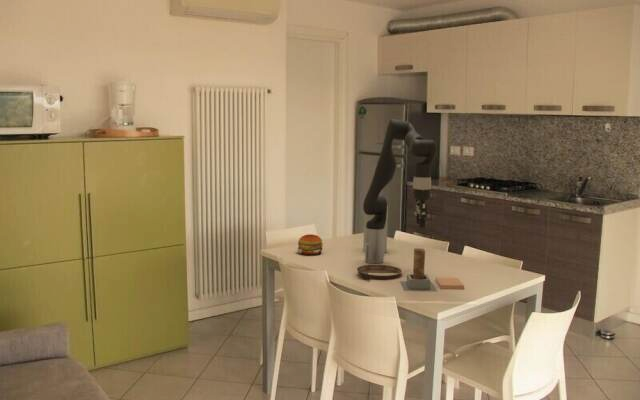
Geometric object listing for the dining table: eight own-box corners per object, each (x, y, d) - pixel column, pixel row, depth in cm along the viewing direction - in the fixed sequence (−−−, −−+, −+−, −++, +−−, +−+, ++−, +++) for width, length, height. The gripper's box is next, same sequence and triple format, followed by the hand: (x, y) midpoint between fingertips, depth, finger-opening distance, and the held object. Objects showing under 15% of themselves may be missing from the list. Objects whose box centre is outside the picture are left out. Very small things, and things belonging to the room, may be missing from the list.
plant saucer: (373, 268, 292) (373, 261, 292) (410, 276, 279) (410, 269, 279) (347, 276, 276) (347, 269, 276) (385, 285, 263) (385, 278, 263)
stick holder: (403, 292, 252) (404, 281, 251) (399, 283, 266) (400, 272, 265) (437, 293, 252) (437, 281, 251) (431, 283, 266) (431, 272, 265)
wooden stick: (414, 287, 257) (415, 250, 254) (412, 284, 261) (414, 248, 258) (423, 287, 257) (425, 250, 254) (422, 284, 261) (423, 248, 258)
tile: (435, 284, 267) (440, 292, 255) (435, 277, 267) (440, 285, 255) (457, 284, 267) (463, 292, 255) (457, 277, 267) (464, 285, 255)
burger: (327, 254, 319) (328, 235, 318) (306, 257, 311) (306, 238, 310) (313, 249, 330) (313, 231, 328) (292, 252, 322) (292, 233, 321)
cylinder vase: (391, 252, 325) (392, 206, 321) (373, 255, 318) (374, 208, 314) (376, 248, 335) (377, 203, 331) (358, 250, 328) (359, 205, 324)
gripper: (410, 185, 260) (409, 222, 262) (415, 189, 245) (413, 228, 248) (428, 185, 259) (426, 222, 262) (433, 189, 245) (432, 229, 248)
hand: (420, 225), depth 255 cm, fingers open, 8 cm apart
